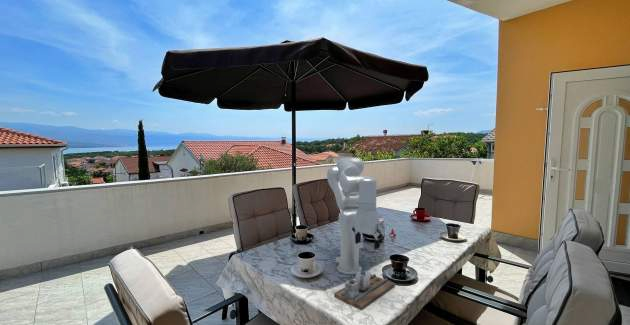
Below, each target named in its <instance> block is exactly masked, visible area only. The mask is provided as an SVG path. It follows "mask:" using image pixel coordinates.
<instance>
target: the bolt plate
mask: <svg viewBox="0 0 630 325" xmlns="http://www.w3.org/2000/svg"><path fill="white" fill-rule="evenodd" d="M395 287H396V283H395V282H392V281H390V280H389V279H388V278H385V279H384V278H382V277H379V276H377V274H375V273H374V274H371V273H370V287H368V288H367V289H365V290H364V291H363V290H361V289H359V283H358V282H356V280H354V279H349V280H347V281H345V282H344V287H343V288H341V289H339V290H337V291H335V292H334V293H333V297H334V298H336V299H338V300H340V301H342V302H343V303H346V304H348V305H350V306H352V307H354V308H356V309H357V310H360V311H362V310H364V309H365V308H367V307H368V306H369V305H371V304H372V303H374V302H375V301H376V300H378V299H380V298H381V297H382V296H383V295H386V293H388V292H389V291H391V290H392V289H393V288H395Z"/></svg>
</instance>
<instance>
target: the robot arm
mask: <svg viewBox="0 0 630 325" xmlns="http://www.w3.org/2000/svg"><path fill="white" fill-rule="evenodd" d="M364 168H365V163H364V161H363V159H362V158H360V157H341V158H339V159H338V160H337V162H336V165H334V166H331V167H329V168H328V169H327V172H326V178H327V182H328V185H329V187H330V188H331V190H332V192H333V194H334V197H335V201H336V205H337V208H338V209H339V210H340V212H339V214H338V222H339V224H338V225H339V230H340V232H339V233H340V238H339V239H340V241H339V242H340V243H339V244H340V253H339V254H340V256H337V257H336V259H335V262H336V263H338V264H337V267H336V268H337V270H338V271H339V273H341V274H345V275H356V273H358V272H360V271H362V270H363V268H362V265H361V264H360V263H359V262H360V261H359V260H360V259H359V258H360V252H359V251H360V250H359V249H360V248H359V247H360V243H361V240H362V239H361V236H362V234H365V235H369V236H373V237H374V243H373V244H374V248H373V249H374V250H377V249H380V247H381V240H382V238H383V237H384V236H385V235H386V232H387V231H386V229H385V228H383V227H382V225H380V217H379V216H380V215H379V212H378V210H377V180H376V178H374V177H373V178H372V177H371V176H368V175H361V174H362V173H363V171H364Z"/></svg>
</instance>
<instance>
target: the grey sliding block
mask: <svg viewBox="0 0 630 325" xmlns="http://www.w3.org/2000/svg"><path fill="white" fill-rule="evenodd" d="M370 274H371V273H370V272H368V271H367V270H363V269H362V271H360V272H358V273H356V274H355V281H356V282H358V283H359V289H361V290H363V291H364V290H365V289H367V288H368V287H370Z"/></svg>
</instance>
